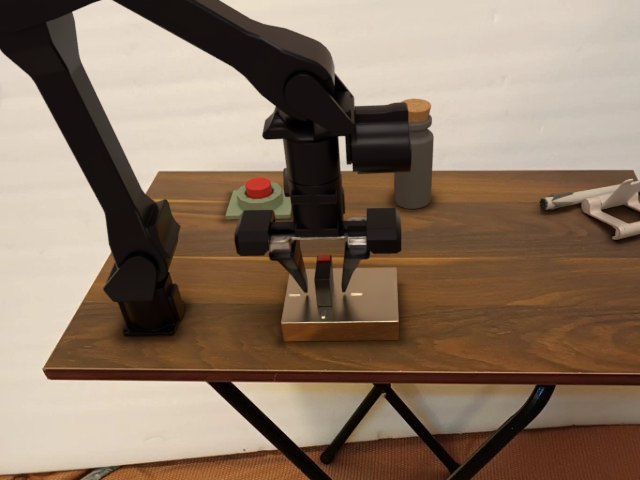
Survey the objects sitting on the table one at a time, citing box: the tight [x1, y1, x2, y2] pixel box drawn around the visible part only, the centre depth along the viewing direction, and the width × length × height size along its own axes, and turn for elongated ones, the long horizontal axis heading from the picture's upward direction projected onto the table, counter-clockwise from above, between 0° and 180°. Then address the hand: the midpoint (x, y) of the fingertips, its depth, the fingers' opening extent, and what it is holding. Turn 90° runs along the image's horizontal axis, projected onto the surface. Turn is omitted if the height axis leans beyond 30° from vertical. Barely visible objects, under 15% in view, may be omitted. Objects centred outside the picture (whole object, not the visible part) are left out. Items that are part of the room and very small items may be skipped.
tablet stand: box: [580, 178, 640, 241], centre depth 94 cm, size 9×8×8 cm
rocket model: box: [538, 180, 640, 211], centre depth 99 cm, size 2×2×30 cm
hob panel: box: [280, 266, 400, 342], centre depth 80 cm, size 14×11×3 cm
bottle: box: [393, 98, 435, 210], centre depth 95 cm, size 6×6×15 cm
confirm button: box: [244, 177, 272, 199], centre depth 98 cm, size 4×4×2 cm
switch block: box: [224, 181, 292, 220], centre depth 99 cm, size 10×8×2 cm
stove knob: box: [314, 254, 334, 306], centre depth 77 cm, size 5×2×4 cm, turn 0°
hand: (325, 290), depth 78 cm, fingers open, 4 cm apart
